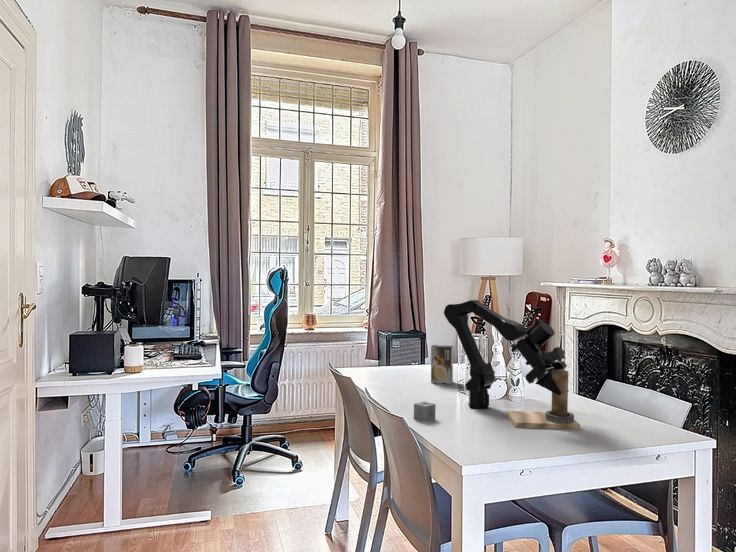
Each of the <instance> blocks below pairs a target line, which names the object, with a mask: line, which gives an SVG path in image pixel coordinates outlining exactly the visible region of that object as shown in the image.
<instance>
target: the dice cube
mask: <svg viewBox="0 0 736 552" xmlns="http://www.w3.org/2000/svg"><path fill="white" fill-rule="evenodd" d="M413 419H415V420H418V421H420V420H421V422H424V423H426V421H427V422H430V421H434V420H436V403H433V402H429V401H428V402H427V401H419V402H415V403H413Z"/></svg>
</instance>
